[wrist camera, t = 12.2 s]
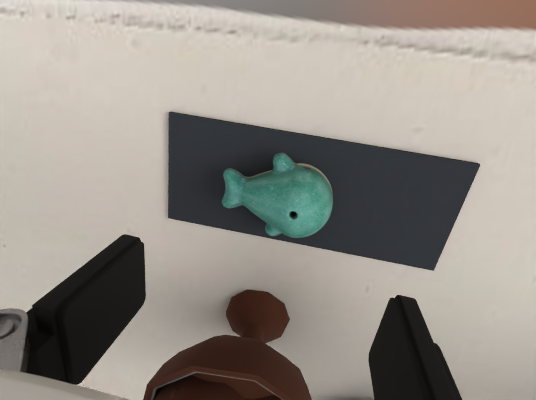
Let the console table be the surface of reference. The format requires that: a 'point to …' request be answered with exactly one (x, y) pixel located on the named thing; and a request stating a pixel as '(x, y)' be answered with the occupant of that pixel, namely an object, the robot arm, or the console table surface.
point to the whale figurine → (283, 197)
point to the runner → (340, 178)
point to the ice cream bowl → (235, 359)
